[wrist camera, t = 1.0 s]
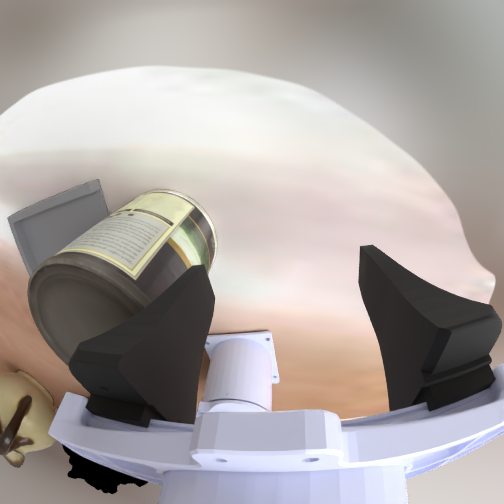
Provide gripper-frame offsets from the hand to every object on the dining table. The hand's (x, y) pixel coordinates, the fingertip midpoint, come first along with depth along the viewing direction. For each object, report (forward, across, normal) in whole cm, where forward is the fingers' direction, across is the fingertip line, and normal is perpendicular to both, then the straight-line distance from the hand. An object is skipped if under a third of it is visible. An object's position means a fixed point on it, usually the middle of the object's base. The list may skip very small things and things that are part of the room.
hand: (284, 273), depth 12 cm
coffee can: (+12, +11, +3) cm, 17 cm away
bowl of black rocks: (+8, +37, +39) cm, 54 cm away
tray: (+11, +24, +3) cm, 27 cm away
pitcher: (+7, +65, +35) cm, 74 cm away
